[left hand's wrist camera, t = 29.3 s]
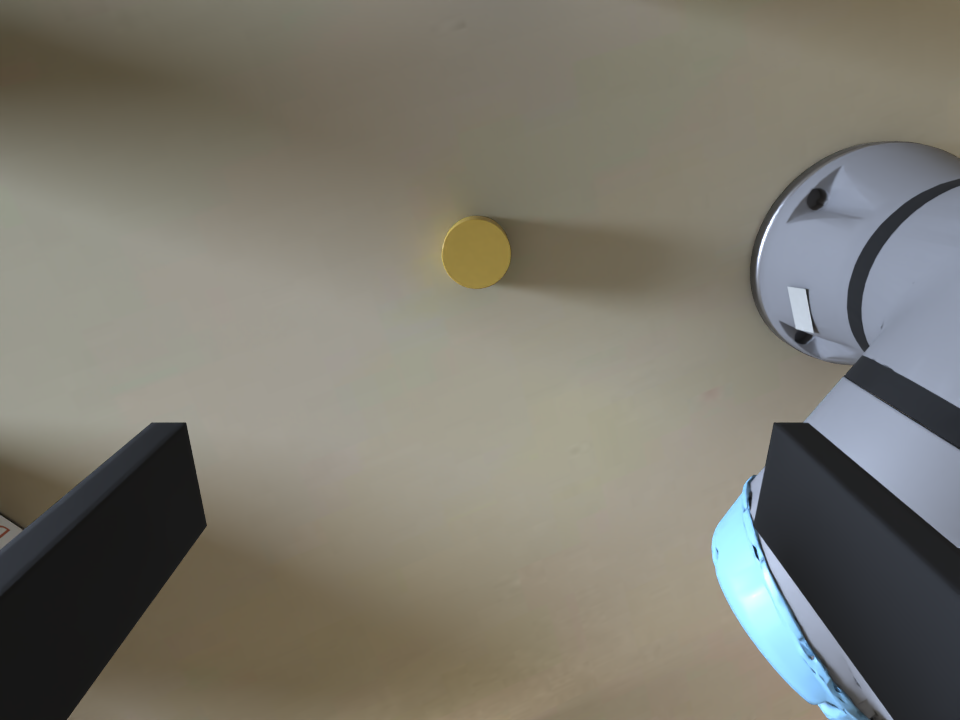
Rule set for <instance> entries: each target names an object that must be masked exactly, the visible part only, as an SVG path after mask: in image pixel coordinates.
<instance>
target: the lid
mask: <svg viewBox="0 0 960 720" xmlns="http://www.w3.org/2000/svg"><path fill="white" fill-rule="evenodd" d="M510 260H511V248H510V244H509V241H508V238H507V235H506V233H505V231H504V230H503V229H502V227H501V226H500V225H499V224H498V223H496V222H495V221H493V220H492V219H490V218H487V217H483V216H470V217H466V218H463V219H461V220H460V221H458V222H457V223H455V224H454V225H453V226H452V227H451V229H450V230H449V232H448V233H447V235H446V238H445V240H444V243H443V247H442V261H443V265H444V268H445V270H446V272H447V273H448V274H449V276H450V277H451V278H452V279H453V280H454V281H455V282H457V283H458V284H460V285H462V286H464V287H467V288H472V289H481V288H486V287H489V286H491V285H493V284H495V283H496V282H498V281H499V280H500V279H501V278H502V277H503V276H504V274H505V273H506V271H507V269H508V267H509V264H510Z"/></svg>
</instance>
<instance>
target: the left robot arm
mask: <svg viewBox="0 0 960 720" xmlns="http://www.w3.org/2000/svg"><path fill="white" fill-rule="evenodd" d="M750 280H751V289H752V294H753V298H754V301H755V304H756V307H757V309H758V311H759V314H760V315H761V317H762V319H763V320H764V322H765V323H766V325H767V326H768V327H769V328H770V330H771V331H772V332H773V333H774V334H775V335H776V336H778V337H779V338H780V339H781V340H783V341H784V342H786V343H787V344H789V345H790V346H792V347H794V348H795V349H797V350H798V351H800V352H802V353H804V354H806V355H809V356H811V357H814V358H817V359H820V360H823V361H827V362H831V363H836V364H844V365H853V366H852V368H851V369H850V370H849V371H848V372H847V373H846V375H844V376H843V377H842V378H841V380H840V381H839V382H838V383H837V384H836V385H835V386H834V388H833V389H832V390H831V391H830V392H829V393H828V394H827V396H826V397H825V398H824V399H823V400H822V401H821V402H820V404H819V405H818V406H817V407H816V408H815V409H814V411H813V412H812V413H811V414H810V415H809V416H808V417H807V419H806V420H805V421H804V422H803V423H774V425H773V430H772V435H771V440H770V445H769V450H768V455H767V460H766V465H765V467H764V468H763V469H762V470H761V471H760V473H759V474H758V475H753V476H752V477H750V478H749V479H748V480H747V482H746V483H745V485H744V487H743V492H742V494H741V495H740V496H739V498H738V499H737V500H736V502H735V503H734V504H733V505H732V507H731V508H730V509H729V511H728V512H727V513H726V515H725V516H724V517H723V519H722V520H721V521H720V523H719V524H718V526H717V527H716V530H715V532H714V535H713V539H712V555H713V562H714V565H715V567H716V574H717V578H718V581H719V584H720V586H721V588H722V590H723V593H724V595H725V597H726V599H727V601H728V603H729V605H730V607H731V609H732V610H733V612H734V614H735V615H736V617H737V619H738V620H739V622H740V623H741V625H742V627H743V628H744V629H745V631H746V632H747V634H748V635H749V637H750V638H751V640H752V641H753V642H754V644H755V645H756V646H757V648H758V649H759V650H760V652H761V653H762V654H763V655H764V657H765V658H766V659H767V660H768V662H769V663H770V664H771V665H772V666H773V668H774V669H775V670H776V671H777V672H778V673H779V674H780V676H781V677H782V678H783V679H784V680H785V681H786V682H787V683H788V684H789V685H790V686H791V687H792V688H793V689H794V690H795V691H796V692H797V693H798V694H799V695H800V696H801V697H803V698H804V699H805V700H806V701H807V702H808V703H810V704H813V705H817V704H818V706H819V707H820V708H821V710H822V711H823V713H824V714H825V715H826V717H827V718H828V719H830V720H960V159H959V158H958V157H956V156H954V155H952V154H950V153H948V152H946V151H944V150H941V149H938V148H935V147H931V146H927V145H922V144H918V143H912V142H898V141H895V142H872V143H866V144H860V145H856V146H853V147H849V148H846V149H844V150H841V151H838V152H836V153H834V154H832V155H830V156H827V157H826V158H824V159H822V160H820V161H819V162H817V163H815V164H814V165H813V166H811V167H810V168H808V169H807V170H805V171H804V172H803V173H802V174H801V175H799V176H798V177H797V178H796V179H795V180H794V181H793V182H792V183H791V184H790V185H789V186H788V187H787V188H786V189H785V190H784V191H783V192H782V194H781V195H780V196H779V197H778V199H777V200H776V201H775V203H774V204H773V205H772V207H771V209H770V210H769V212H768V213H767V215H766V217H765V219H764V221H763V223H762V225H761V227H760V229H759V232H758V234H757V237H756V240H755V244H754V247H753V252H752V257H751V266H750ZM858 385H859V386H858ZM863 388H864V389H863ZM868 391H869V392H868ZM871 393H872V394H871ZM873 394H874V395H873ZM876 396H877V397H876ZM878 397H879V398H880V399H879V398H878ZM881 399H882V400H881ZM883 400H884V401H885V402H884V401H883ZM886 402H887V403H886ZM889 404H890V405H889ZM891 405H892V406H893V407H892V406H891ZM894 407H895V408H894ZM897 409H898V410H897ZM899 410H900V411H901V412H900V411H899ZM902 412H903V413H902ZM905 414H906V415H905ZM907 415H908V416H907ZM910 417H911V418H910ZM913 419H914V420H913ZM915 420H916V421H915ZM918 422H919V423H918ZM921 424H922V425H921ZM923 425H924V426H923ZM926 427H927V428H926ZM929 429H930V430H929ZM934 432H935V433H934ZM937 434H938V435H937ZM958 447H959V448H958ZM206 526H207V524H206V519H205V514H204V509H203V504H202V499H201V494H200V489H199V484H198V479H197V474H196V470H195V465H194V460H193V455H192V450H191V445H190V440H189V435H188V430H187V425H186V423H151V424H150V425H148V426H147V427H146V428H145V429H144V430H142V431H141V432H140V433H139V434H138V435H136V436H135V437H134V438H133V439H132V440H130V441H129V442H128V443H127V444H126V445H124V446H123V447H122V448H121V449H120V450H118V451H117V452H116V453H115V454H114V455H113V456H111V457H110V458H109V459H108V460H107V461H105V462H104V463H103V464H102V465H101V466H99V467H98V468H97V469H96V470H95V471H93V472H92V473H91V474H90V475H89V476H87V477H86V478H85V479H84V480H83V481H81V482H80V483H79V484H78V485H77V486H76V487H74V488H73V489H72V490H71V491H70V492H68V493H67V494H66V495H65V496H64V497H62V498H61V499H60V500H59V501H58V502H56V503H55V504H54V505H53V506H52V507H50V508H49V509H48V510H47V511H46V512H44V513H43V514H42V515H41V516H40V517H38V518H37V519H36V520H35V521H34V522H33V523H31V524H30V525H29V526H28V527H27V528H25V529H24V530H23V531H22V532H21V533H19V534H18V535H17V536H16V537H15V538H13V539H12V540H11V541H10V542H9V543H7V544H6V545H5V546H4V547H3V548H1V549H0V720H67V718H68V717H69V716H70V714H71V713H72V712H73V710H74V709H75V707H76V706H77V705H78V703H79V702H80V701H81V699H82V698H83V696H84V695H85V694H86V692H87V691H88V689H89V688H90V687H91V685H92V684H93V683H94V681H95V680H96V678H97V677H98V676H99V674H100V673H101V671H102V670H103V669H104V667H105V666H106V665H107V663H108V662H109V660H110V659H111V658H112V656H113V655H114V653H115V652H116V651H117V649H118V648H119V647H120V645H121V644H122V642H123V641H124V640H125V638H126V637H127V635H128V634H129V633H130V631H131V630H132V629H133V627H134V626H135V624H136V623H137V622H138V620H139V619H140V617H141V616H142V615H143V613H144V612H145V611H146V609H147V608H148V606H149V605H150V604H151V602H152V601H153V600H154V598H155V597H156V595H157V594H158V593H159V591H160V590H161V588H162V587H163V586H164V584H165V583H166V582H167V580H168V579H169V577H170V576H171V575H172V573H173V572H174V570H175V569H176V568H177V566H178V565H179V564H180V562H181V561H182V559H183V558H184V557H185V555H186V554H187V552H188V551H189V550H190V548H191V547H192V546H193V544H194V543H195V541H196V540H197V539H198V537H199V536H200V534H201V533H202V532H203V530H204V529H205V528H206Z"/></svg>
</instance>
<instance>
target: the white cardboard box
mask: <svg viewBox="0 0 960 720" xmlns="http://www.w3.org/2000/svg"><path fill="white" fill-rule="evenodd" d="M22 531H23V530H22V529H21V528H19V527H18V526H16V525H15V524H13V523H12V522H10V521H9V520H7V519H6V518H4V517H3V516H1V515H0V549H1V548H3V547H4V546H5V545H6V544H7V543H9V542H10V541H11V540H12V539H13V538H15V537H16V536H17V535H18V534H19V533H21V532H22Z"/></svg>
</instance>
